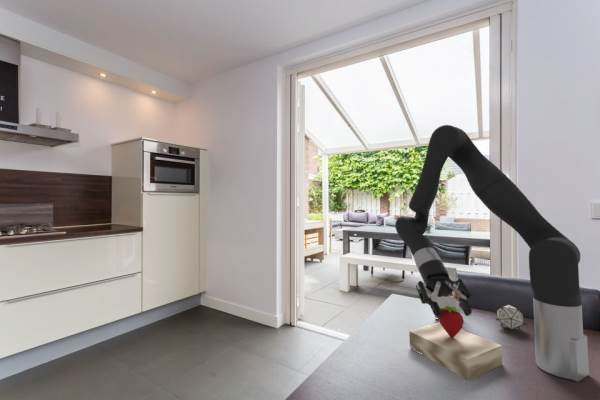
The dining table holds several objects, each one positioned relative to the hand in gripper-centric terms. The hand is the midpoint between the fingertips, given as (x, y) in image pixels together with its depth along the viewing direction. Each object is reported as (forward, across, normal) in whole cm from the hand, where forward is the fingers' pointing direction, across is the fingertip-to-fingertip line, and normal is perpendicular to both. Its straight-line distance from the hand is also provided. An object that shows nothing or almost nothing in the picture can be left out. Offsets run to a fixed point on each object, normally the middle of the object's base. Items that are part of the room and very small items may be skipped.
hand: (454, 315), depth 79 cm
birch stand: (+7, 0, +9) cm, 12 cm away
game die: (-2, +29, +18) cm, 35 cm away
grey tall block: (-10, +14, +27) cm, 32 cm away
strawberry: (+4, 0, +6) cm, 7 cm away
